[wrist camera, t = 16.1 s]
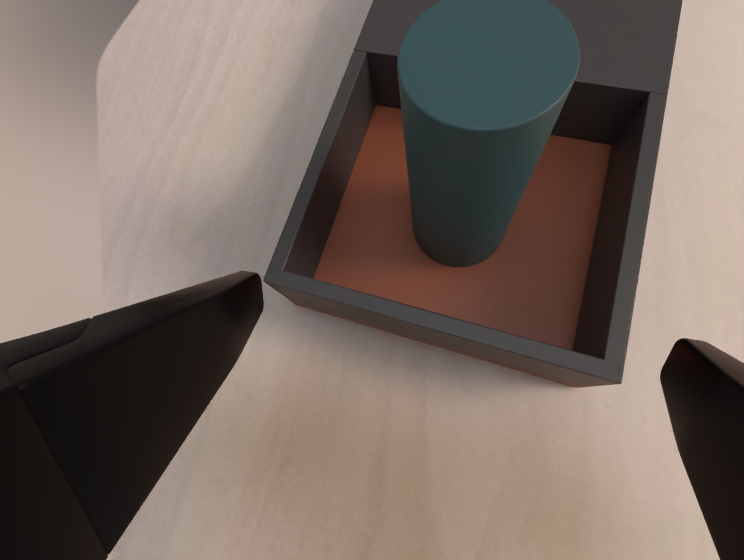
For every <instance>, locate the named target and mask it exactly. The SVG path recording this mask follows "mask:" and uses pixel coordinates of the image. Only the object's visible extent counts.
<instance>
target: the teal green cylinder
mask: <svg viewBox="0 0 744 560" xmlns="http://www.w3.org/2000/svg"><path fill="white" fill-rule="evenodd" d="M579 64H580V48H579V43H578V39H577V35H576V33H575V31H574V29H573V27H572V25H571V24H570V22H569V21H568V19H567V18H566V17H565V16H564V15H563V14H562V13H561V12H560V11H559V10H558V9H557V8H556V7H554V6H553V5H552V4H550V3H549V2H547V1H545V0H441V1H439V2H438V3H436V4H435V5H433V6H431V7H430V8H429V9H427V10H426V11H425V12H424V13H422V14H421V15H420V16H419V17H418V18H417V19H416V20H415V21H414V23H413V24H412V25H411V27H410V28H409V29H408V31H407V33H406V34H405V36H404V38H403V41H402V43H401V46H400V49H399V53H398V60H397V69H398V80H399V90H400V100H401V110H402V121H403V131H404V141H405V151H406V161H407V171H408V182H409V192H410V202H411V212H412V222H413V232H414V236H415V239H416V241H417V243H418V245H419V247H420V248H421V249H422V251H423V252H424V253H425V254H426V255H427V256H429V257H430V258H431V259H433V260H434V261H436V262H438V263H441V264H443V265H447V266H452V267H466V266H471V265H475V264H478V263H480V262H482V261H484V260H485V259H487V258H488V257H490V256H491V255H492V254H493V253H494V252H495V251H496V250H497V249H498V247H499V246H500V244H501V242H502V240H503V237H504V235H505V233H506V231H507V229H508V226H509V224H510V222H511V220H512V218H513V215H514V213H515V211H516V209H517V207H518V204H519V202H520V200H521V198H522V196H523V193H524V191H525V189H526V187H527V185H528V182H529V180H530V178H531V176H532V173H533V171H534V169H535V167H536V165H537V162H538V160H539V158H540V156H541V154H542V151H543V149H544V147H545V145H546V143H547V140H548V138H549V136H550V134H551V132H552V129H553V127H554V125H555V123H556V121H557V118H558V116H559V114H560V112H561V109H562V107H563V105H564V103H565V101H566V98H567V96H568V94H569V92H570V90H571V87H572V85H573V83H574V81H575V79H576V76H577V73H578V69H579Z"/></svg>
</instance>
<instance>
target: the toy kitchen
mask: <svg viewBox="0 0 744 560" xmlns="http://www.w3.org/2000/svg"><path fill="white" fill-rule="evenodd" d="M439 1H441V0H373V3H372V5H371V8H370V10H369V13H368V15H367V18H366V20H365V23H364V25H363V28H362V31H361V33H360V36H359V38H358V41H357V43H356V46H355V48H354V51H353V54H352V56H351V59H350V62H349V64H348V67H347V69H346V72H345V74H344V77H343V79H342V82H341V84H340V87H339V89H338V92H337V95H336V97H335V100H334V102H333V105H332V107H331V110H330V112H329V115H328V117H327V120H326V122H325V125H324V127H323V130H322V133H321V135H320V138H319V140H318V143H317V145H316V148H315V150H314V153H313V155H312V158H311V160H310V163H309V166H308V168H307V171H306V173H305V176H304V178H303V181H302V183H301V186H300V188H299V191H298V193H297V196H296V198H295V201H294V204H293V206H292V209H291V211H290V214H289V216H288V219H287V221H286V224H285V226H284V229H283V231H282V234H281V237H280V239H279V242H278V244H277V247H276V249H275V252H274V254H273V257H272V259H271V262H270V264H269V267H268V269H267V272H266V275H265V277H264V280H263V281H264V282H265V283H267V284H268V285H270V286H271V287H272V288H274V289H275V290H277V291H278V292H279V293H281V294H282V295H284V296H285V297H286V298H288V299H289V300H291V301H292V302H293V303H295V304H296V305H299V306H303V307H306V308H309V309H313V310H316V311H320V312H323V313H326V314H330V315H333V316H337V317H340V318H343V319H347V320H350V321H353V322H357V323H360V324H364V325H367V326H370V327H374V328H377V329H380V330H384V331H387V332H391V333H394V334H397V335H401V336H404V337H408V338H411V339H414V340H418V341H421V342H424V343H428V344H431V345H435V346H438V347H441V348H445V349H448V350H451V351H455V352H458V353H462V354H465V355H468V356H472V357H475V358H479V359H482V360H485V361H489V362H492V363H495V364H499V365H502V366H506V367H509V368H512V369H516V370H519V371H522V372H526V373H529V374H533V375H536V376H539V377H543V378H546V379H550V380H553V381H556V382H560V383H563V384H566V385H570V386H573V387H589V386H601V385H613V384H621V383H622V377H623V371H624V364H625V358H626V352H627V345H628V339H629V333H630V326H631V320H632V314H633V308H634V301H635V295H636V289H637V282H638V276H639V270H640V264H641V257H642V251H643V245H644V238H645V232H646V226H647V219H648V213H649V207H650V201H651V194H652V188H653V182H654V175H655V169H656V163H657V157H658V150H659V144H660V138H661V131H662V125H663V119H664V112H665V106H666V100H667V94H668V88H669V82H670V75H671V69H672V63H673V56H674V50H675V44H676V38H677V31H678V25H679V19H680V12H681V6H682V0H545V1H547V2H549V3H550V4H552V5H553V6H554V7H556V8H557V9H558V10H559V11H560V12H561V13H562V14H563V15H564V16H565V17H566V18H567V19H568V21H569V22H570V24H571V25H572V27H573V29H574V31H575V33H576V35H577V39H578V43H579V48H580V64H579V69H578V73H577V76H576V79H575V81H574V83H573V85H572V87H571V90H570V92H569V94H568V96H567V98H566V101H565V103H564V105H563V107H562V109H561V112H560V114H559V116H558V118H557V121H556V123H555V125H554V127H553V129H552V132H551V134H550V136H549V138H548V140H547V143H546V145H545V147H544V149H543V151H542V154H541V156H540V158H539V160H538V162H537V165H536V167H535V169H534V171H533V173H532V176H531V178H530V180H529V182H528V185H527V187H526V189H525V191H524V193H523V196H522V198H521V200H520V202H519V204H518V207H517V209H516V211H515V213H514V215H513V218H512V220H511V222H510V224H509V226H508V229H507V231H506V233H505V235H504V237H503V240H502V242H501V244H500V246H499V247H498V249H497V250H496V251H495V252H494V253H493V254H492V255H491V256H490V257H488V258H487V259H485V260H484V261H482V262H480V263H478V264H475V265H471V266H466V267H452V266H447V265H443V264H441V263H438V262H436V261H434V260H433V259H431V258H430V257H429V256H427V255H426V254H425V253H424V252H423V251H422V249H421V248H420V247H419V245H418V243H417V241H416V239H415V236H414V232H413V222H412V212H411V202H410V192H409V182H408V171H407V161H406V151H405V141H404V131H403V121H402V110H401V100H400V90H399V80H398V69H397V60H398V53H399V49H400V46H401V43H402V41H403V38H404V36H405V34H406V33H407V31H408V29H409V28H410V27H411V25H412V24H413V23H414V21H415V20H416V19H417V18H418V17H419V16H420V15H421V14H422V13H424V12H425V11H426V10H427V9H429V8H430V7H431V6H433V5H435V4H436V3H438V2H439Z"/></svg>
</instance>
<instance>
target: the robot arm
mask: <svg viewBox="0 0 744 560" xmlns="http://www.w3.org/2000/svg"><path fill="white" fill-rule="evenodd" d="M263 306H264V301H263V292H262V283H261V278H260V276H259V275H258V274H257V273H254V272H247V271H240V272H237V273H234V274H230V275H227V276H224V277H221V278H217V279H214V280H211V281H208V282H204V283H201V284H198V285H195V286H191V287H188V288H185V289H182V290H178V291H175V292H172V293H169V294H165V295H162V296H159V297H156V298H152V299H149V300H146V301H143V302H139V303H136V304H133V305H130V306H126V307H123V308H120V309H117V310H113V311H110V312H107V313H104V314H100V315H97V316H94V317H93V318H92V319H90V318H87V319H84V320H81V321H77V322H74V323H71V324H68V325H65V326H61V327H57V328H54V329H51V330H48V331H44V332H41V333H37V334H33V335H30V336H26V337H23V338H19V339H15V340H11V341H8V342H4V343H0V560H106V559H107V558H108V555H107V554H110V553H111V551H112V550H113V548H114V547H115V545H116V544H117V542H118V540H119V539H120V537H121V536H122V534H123V533H124V531H125V530H126V528H127V527H128V525H129V524H130V522H131V521H132V519H133V518H134V516H135V515H136V513H137V512H138V510H139V509H140V507H141V506H142V504H143V503H144V501H145V500H146V498H147V497H148V495H149V494H150V492H151V491H152V489H153V488H154V486H155V485H156V483H157V482H158V480H159V479H160V477H161V476H162V474H163V473H164V471H165V469H166V468H167V466H168V465H169V463H170V462H171V460H172V459H173V457H174V456H175V454H176V453H177V451H178V450H179V448H180V447H181V445H182V444H183V442H184V441H185V439H186V438H187V436H188V435H189V433H190V432H191V430H192V429H193V427H194V426H195V424H196V423H197V421H198V420H199V418H200V417H201V415H202V414H203V412H204V411H205V409H206V408H207V406H208V405H209V403H210V401H211V400H212V398H213V397H214V395H215V394H216V392H217V391H218V389H219V388H220V386H221V385H222V383H223V382H224V380H225V379H226V377H227V376H228V374H229V373H230V371H231V370H232V368H233V367H234V365H235V363H236V362H237V360H238V358H239V356H240V355H241V353H242V351H243V349H244V347H245V345H246V343H247V341H248V339H249V337H250V335H251V333H252V331H253V329H254V327H255V325H256V323H257V321H258V319H259V317H260V315H261V313H262V311H263ZM660 380H661V385H662V389H663V393H664V397H665V401H666V405H667V409H668V413H669V416H670V420H671V424H672V428H673V432H674V436H675V440H676V443H677V447H678V450H679V453H680V456H681V458H682V461H683V464H684V467H685V469H686V472H687V474H688V477H689V480H690V482H691V485H692V487H693V490H694V493H695V495H696V498H697V500H698V503H699V506H700V508H701V511H702V513H703V516H704V519H705V521H706V524H707V526H708V529H709V532H710V534H711V537H712V539H713V542H714V545H715V547H716V550H717V552H718V555H719V558H720V560H744V363H743V362H741V361H739V360H737V359H735V358H734V357H732V356H730V355H728V354H727V353H725V352H723V351H721V350H719V349H718V348H716V347H714V346H712V345H711V344H709V343H707V342H704V341H700V340H693V339H686V338H682V339H680V340H678V341H677V342H676V343H675V344H674V346H673V348H672V350H671V352H670V354H669V356H668V358H667V360H666V362H665V364H664V366H663V368H662V370H661V375H660Z"/></svg>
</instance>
